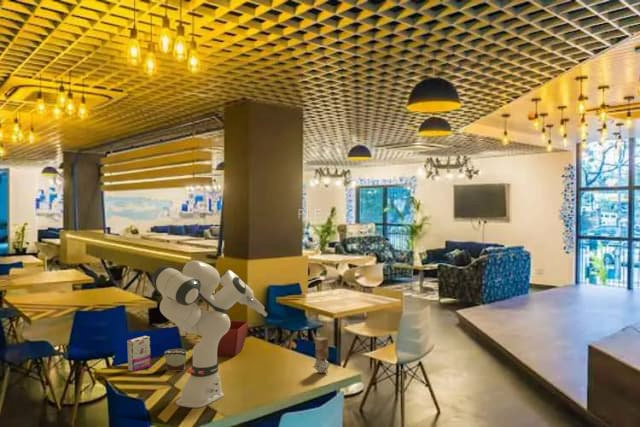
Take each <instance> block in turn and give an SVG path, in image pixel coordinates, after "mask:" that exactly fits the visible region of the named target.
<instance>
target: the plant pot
mask: <svg viewBox="0 0 640 427" xmlns="http://www.w3.org/2000/svg"><path fill="white" fill-rule="evenodd" d="M248 326H249V321H241V320H230V328H229V330H228V332H227V333H226V334H225V335H223V336H222V338H221V339H220V341H219V343H218V348H217V356H220V357H222V356H223V357H236V356H237V355H238V354H240V352H242V350H243V348H244V345H245V343H246V342H245V341H246V337H247V332H248Z"/></svg>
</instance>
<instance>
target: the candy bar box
mask: <svg viewBox="0 0 640 427" xmlns="http://www.w3.org/2000/svg"><path fill="white" fill-rule="evenodd" d="M126 343H127V367H128V368H127V370H128V372H129V371H130V372H132V373H134V372H137V371H141V370H144V369H148V368H150V367H152V356H151V354H152V353H151V352H152V351H151V336H149V335H148V336H147V335H143V336H139V337H135V338H132V339H128V340H127V341H126Z"/></svg>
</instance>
